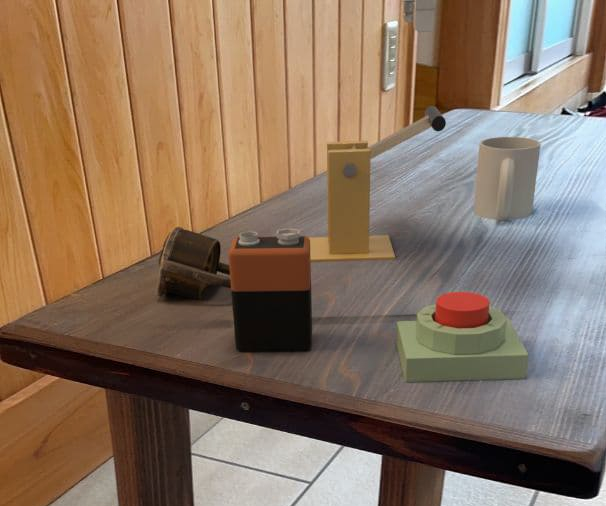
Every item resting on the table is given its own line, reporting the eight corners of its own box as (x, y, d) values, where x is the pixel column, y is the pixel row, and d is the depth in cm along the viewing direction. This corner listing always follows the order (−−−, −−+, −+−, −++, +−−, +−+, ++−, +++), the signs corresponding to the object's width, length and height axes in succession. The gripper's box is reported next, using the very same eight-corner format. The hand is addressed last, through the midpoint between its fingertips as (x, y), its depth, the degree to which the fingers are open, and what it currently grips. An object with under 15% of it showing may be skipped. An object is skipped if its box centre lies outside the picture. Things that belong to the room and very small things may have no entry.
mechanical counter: (192, 224, 91) (129, 227, 83) (294, 227, 85) (237, 230, 77) (195, 294, 94) (134, 303, 86) (295, 301, 87) (239, 312, 80)
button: (482, 310, 74) (484, 290, 72) (492, 330, 70) (494, 309, 69) (431, 312, 74) (432, 292, 73) (438, 332, 70) (440, 311, 69)
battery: (310, 352, 76) (308, 239, 70) (235, 353, 76) (226, 240, 71) (312, 333, 80) (310, 224, 74) (240, 334, 80) (232, 225, 74)
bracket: (388, 245, 101) (391, 137, 94) (394, 267, 94) (399, 152, 87) (303, 248, 101) (300, 140, 94) (304, 270, 94) (301, 156, 87)
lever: (441, 120, 92) (433, 98, 91) (449, 131, 87) (441, 108, 86) (339, 174, 95) (330, 153, 94) (342, 187, 90) (332, 166, 89)
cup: (530, 211, 110) (540, 137, 105) (531, 234, 102) (541, 155, 97) (474, 210, 112) (480, 136, 106) (470, 233, 104) (477, 154, 98)
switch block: (505, 340, 77) (511, 297, 75) (525, 379, 71) (531, 333, 68) (395, 344, 77) (397, 301, 75) (405, 382, 71) (407, 337, 68)
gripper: (480, -167, 67) (467, 36, 75) (442, -149, 84) (435, 16, 92) (400, -163, 67) (395, 39, 75) (378, -146, 84) (376, 18, 92)
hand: (417, 26), depth 84 cm, fingers open, 8 cm apart
